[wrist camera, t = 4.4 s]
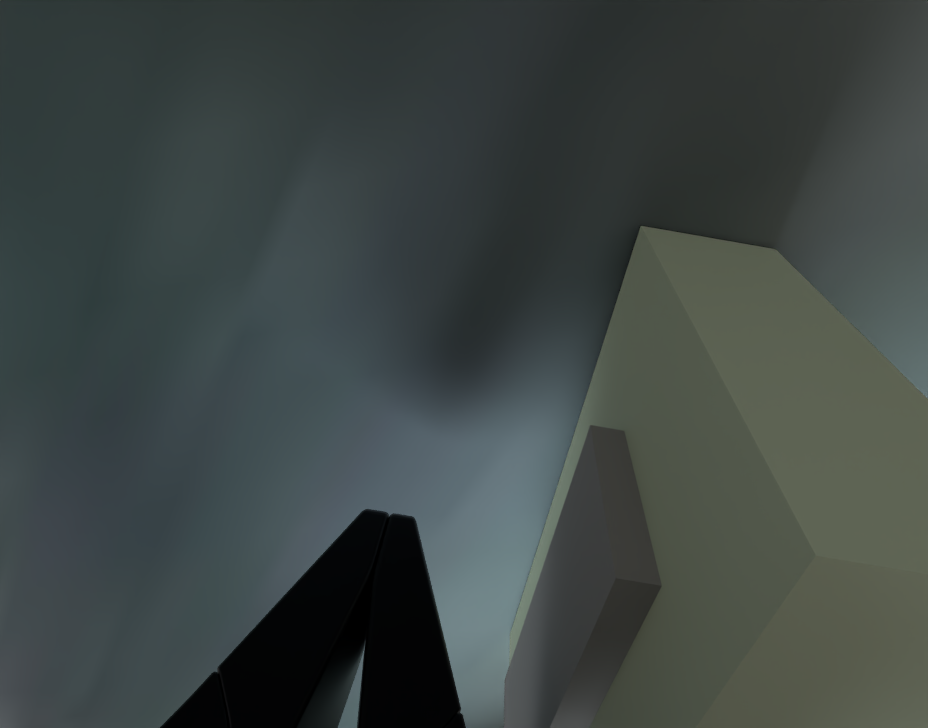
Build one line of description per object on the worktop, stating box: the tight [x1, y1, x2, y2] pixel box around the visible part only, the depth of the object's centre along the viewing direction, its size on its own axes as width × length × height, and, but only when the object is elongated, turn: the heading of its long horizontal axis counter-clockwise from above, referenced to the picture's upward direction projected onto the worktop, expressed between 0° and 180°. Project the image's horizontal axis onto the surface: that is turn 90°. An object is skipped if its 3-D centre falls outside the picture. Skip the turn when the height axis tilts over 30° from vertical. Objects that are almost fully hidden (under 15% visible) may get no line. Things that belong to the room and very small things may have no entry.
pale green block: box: [504, 226, 928, 728], centre depth 9 cm, size 2×10×6 cm, turn 171°
